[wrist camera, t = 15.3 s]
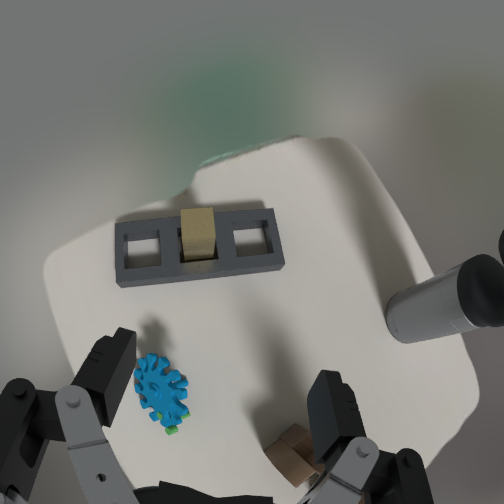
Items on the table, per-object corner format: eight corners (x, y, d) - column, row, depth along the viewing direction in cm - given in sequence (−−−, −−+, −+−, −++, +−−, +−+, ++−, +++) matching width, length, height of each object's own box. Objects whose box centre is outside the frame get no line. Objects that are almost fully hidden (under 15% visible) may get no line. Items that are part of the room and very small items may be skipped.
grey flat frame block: (269, 217, 50) (273, 208, 47) (280, 270, 47) (285, 263, 44) (119, 231, 45) (115, 223, 42) (121, 287, 42) (116, 282, 39)
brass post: (209, 238, 47) (212, 207, 38) (212, 263, 46) (215, 236, 37) (183, 240, 46) (180, 209, 37) (185, 265, 45) (182, 239, 36)
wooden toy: (260, 451, 37) (324, 532, 14) (295, 422, 39) (391, 471, 16) (321, 507, 34) (408, 583, 11) (352, 480, 37) (457, 536, 14)
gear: (124, 354, 38) (170, 354, 32) (157, 348, 43) (205, 346, 37) (140, 428, 36) (189, 442, 30) (171, 417, 40) (221, 426, 35)
